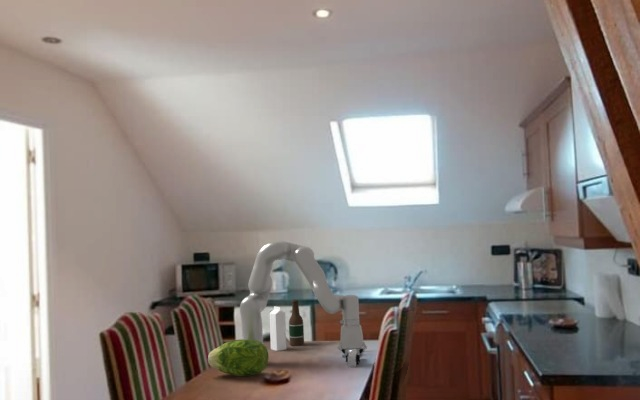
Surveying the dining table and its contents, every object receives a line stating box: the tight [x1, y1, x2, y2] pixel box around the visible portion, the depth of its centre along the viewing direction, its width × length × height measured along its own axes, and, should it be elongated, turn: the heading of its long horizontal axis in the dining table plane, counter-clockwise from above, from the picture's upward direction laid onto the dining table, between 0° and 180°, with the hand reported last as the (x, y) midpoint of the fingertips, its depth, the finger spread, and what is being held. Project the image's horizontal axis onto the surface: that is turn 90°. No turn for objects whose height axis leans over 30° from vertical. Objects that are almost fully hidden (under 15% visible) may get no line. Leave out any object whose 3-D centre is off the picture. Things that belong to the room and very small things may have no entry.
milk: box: [269, 306, 288, 352], centre depth 305 cm, size 6×6×22 cm
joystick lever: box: [347, 349, 358, 368], centre depth 268 cm, size 17×5×4 cm, turn 173°
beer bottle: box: [288, 299, 305, 347], centre depth 315 cm, size 8×8×24 cm
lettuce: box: [207, 338, 269, 377], centre depth 252 cm, size 15×27×16 cm, turn 81°
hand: (352, 363), depth 266 cm, fingers closed on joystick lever, 3 cm apart
